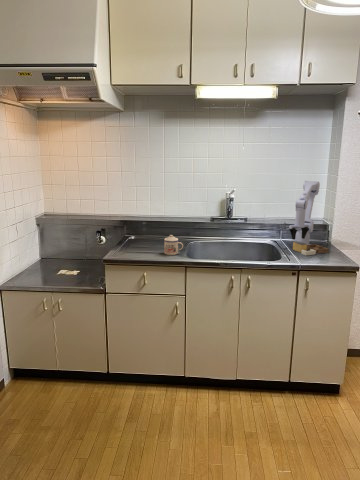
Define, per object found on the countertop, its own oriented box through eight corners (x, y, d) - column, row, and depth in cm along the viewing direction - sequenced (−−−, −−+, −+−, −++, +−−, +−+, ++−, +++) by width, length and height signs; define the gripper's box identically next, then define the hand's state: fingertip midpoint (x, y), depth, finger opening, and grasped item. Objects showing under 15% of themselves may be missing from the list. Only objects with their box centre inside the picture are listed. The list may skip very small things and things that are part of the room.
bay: (301, 253, 231) (301, 249, 231) (310, 252, 234) (311, 248, 234) (305, 255, 228) (306, 251, 227) (315, 254, 230) (315, 250, 230)
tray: (304, 248, 244) (304, 245, 243) (315, 247, 247) (315, 244, 246) (317, 253, 232) (317, 250, 232) (328, 252, 236) (329, 248, 235)
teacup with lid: (162, 254, 225) (162, 236, 222) (165, 251, 234) (165, 233, 231) (181, 255, 223) (182, 237, 221) (183, 251, 232) (184, 234, 229)
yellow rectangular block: (291, 249, 242) (292, 241, 241) (297, 248, 244) (298, 240, 242) (300, 252, 234) (301, 244, 233) (306, 252, 236) (307, 244, 234)
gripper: (294, 220, 229) (293, 241, 233) (313, 218, 234) (311, 239, 238) (287, 218, 236) (286, 238, 239) (306, 216, 241) (304, 237, 244)
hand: (298, 238), depth 239 cm, fingers open, 7 cm apart
